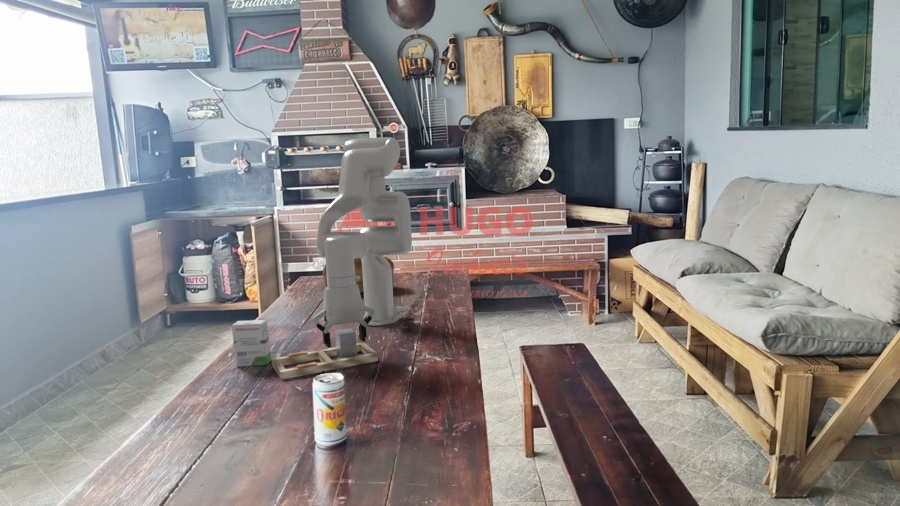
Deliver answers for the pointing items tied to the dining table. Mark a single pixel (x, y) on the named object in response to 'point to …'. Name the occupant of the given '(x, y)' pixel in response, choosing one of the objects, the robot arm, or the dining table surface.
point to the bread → (359, 273)
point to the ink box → (251, 343)
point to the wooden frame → (325, 361)
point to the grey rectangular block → (345, 343)
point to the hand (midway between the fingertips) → (345, 343)
